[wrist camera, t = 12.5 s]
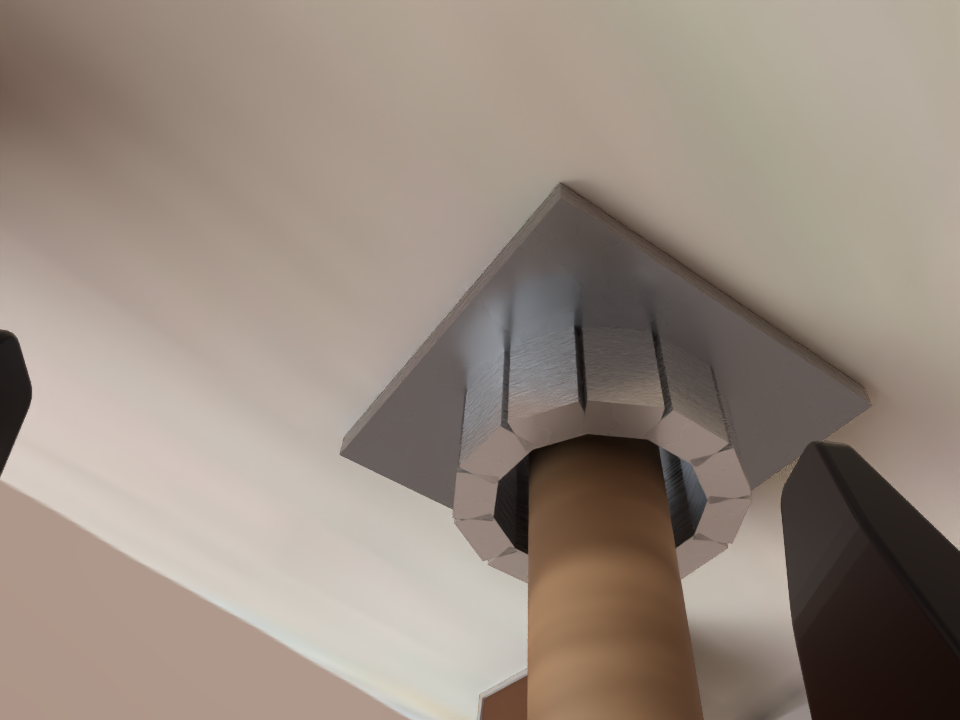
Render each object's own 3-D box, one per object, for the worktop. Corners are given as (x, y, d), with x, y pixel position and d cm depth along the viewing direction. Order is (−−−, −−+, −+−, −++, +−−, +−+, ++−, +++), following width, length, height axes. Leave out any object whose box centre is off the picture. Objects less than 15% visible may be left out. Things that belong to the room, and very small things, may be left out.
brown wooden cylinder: (504, 417, 26) (486, 873, 16) (613, 363, 25) (667, 832, 15) (573, 488, 28) (594, 934, 18) (678, 441, 27) (765, 903, 17)
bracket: (343, 437, 28) (320, 530, 25) (560, 182, 22) (564, 266, 19) (612, 569, 32) (620, 664, 29) (864, 387, 26) (908, 484, 23)
